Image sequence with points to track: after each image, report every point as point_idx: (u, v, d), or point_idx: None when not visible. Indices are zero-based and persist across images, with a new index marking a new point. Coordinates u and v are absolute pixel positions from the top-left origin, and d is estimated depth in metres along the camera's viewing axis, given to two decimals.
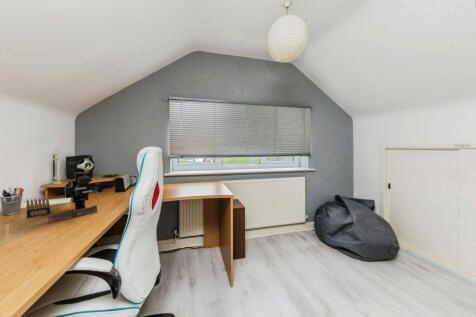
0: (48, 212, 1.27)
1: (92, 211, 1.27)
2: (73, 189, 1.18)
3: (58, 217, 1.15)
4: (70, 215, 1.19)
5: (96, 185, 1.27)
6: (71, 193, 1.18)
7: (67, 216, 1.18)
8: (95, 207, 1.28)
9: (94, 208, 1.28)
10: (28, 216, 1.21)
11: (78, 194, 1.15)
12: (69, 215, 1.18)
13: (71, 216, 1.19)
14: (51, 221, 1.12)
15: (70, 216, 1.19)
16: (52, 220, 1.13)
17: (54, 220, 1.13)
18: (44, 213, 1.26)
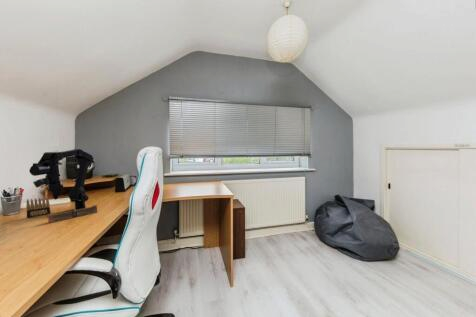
0: (48, 212, 1.27)
1: (92, 211, 1.27)
2: None
3: (58, 217, 1.15)
4: (70, 215, 1.19)
5: None
6: None
7: (67, 216, 1.18)
8: (95, 207, 1.28)
9: (94, 208, 1.28)
10: (28, 216, 1.21)
11: None
12: (69, 215, 1.18)
13: (71, 216, 1.19)
14: (51, 221, 1.12)
15: (70, 216, 1.19)
16: (52, 220, 1.13)
17: (54, 220, 1.13)
18: (44, 213, 1.26)
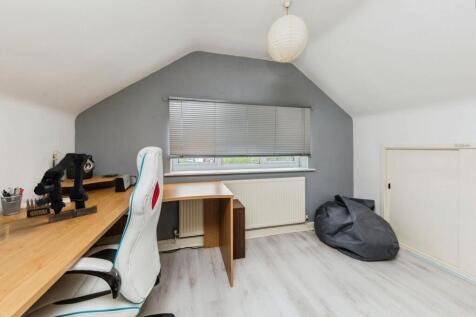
0: (48, 212, 1.27)
1: (92, 211, 1.27)
2: None
3: (58, 217, 1.15)
4: (70, 215, 1.19)
5: None
6: None
7: (67, 216, 1.18)
8: (95, 207, 1.28)
9: (94, 208, 1.28)
10: (28, 216, 1.21)
11: None
12: (69, 215, 1.18)
13: (71, 216, 1.19)
14: (51, 221, 1.12)
15: (70, 216, 1.19)
16: (52, 220, 1.13)
17: (54, 220, 1.13)
18: (44, 213, 1.26)
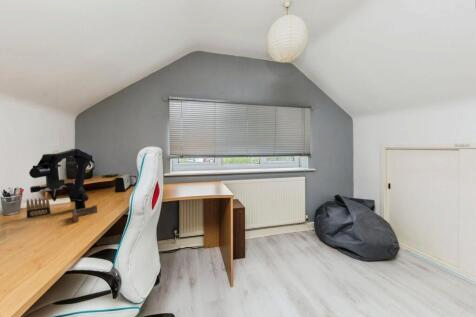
0: (48, 212, 1.27)
1: (92, 211, 1.27)
2: (50, 192, 1.14)
3: None
4: None
5: (57, 191, 1.16)
6: None
7: None
8: (95, 207, 1.28)
9: (94, 208, 1.28)
10: (28, 216, 1.21)
11: (54, 200, 1.17)
12: None
13: None
14: None
15: None
16: None
17: None
18: (44, 213, 1.26)
